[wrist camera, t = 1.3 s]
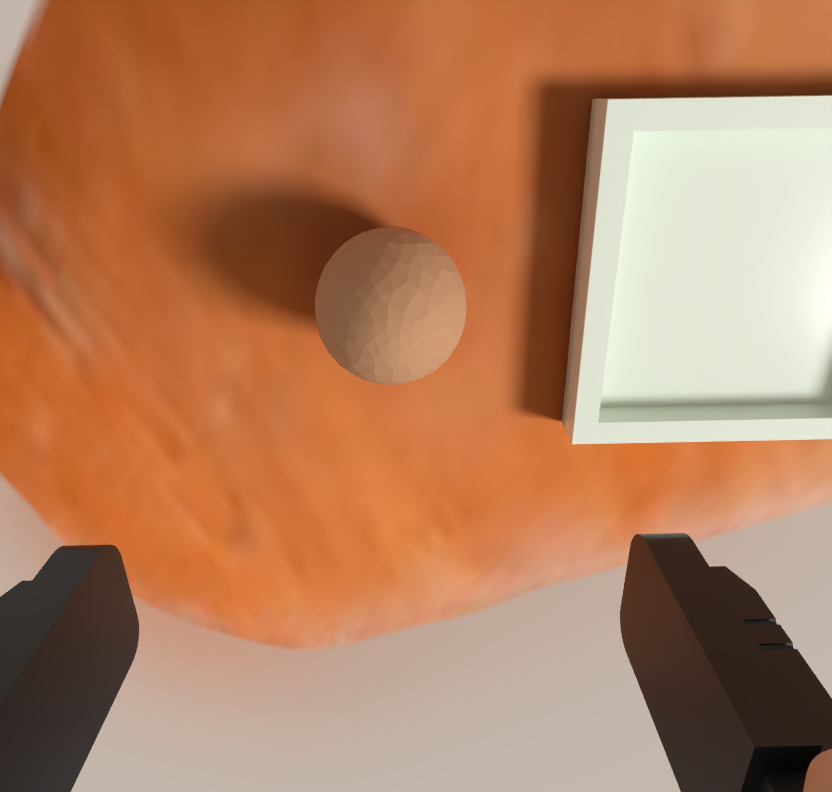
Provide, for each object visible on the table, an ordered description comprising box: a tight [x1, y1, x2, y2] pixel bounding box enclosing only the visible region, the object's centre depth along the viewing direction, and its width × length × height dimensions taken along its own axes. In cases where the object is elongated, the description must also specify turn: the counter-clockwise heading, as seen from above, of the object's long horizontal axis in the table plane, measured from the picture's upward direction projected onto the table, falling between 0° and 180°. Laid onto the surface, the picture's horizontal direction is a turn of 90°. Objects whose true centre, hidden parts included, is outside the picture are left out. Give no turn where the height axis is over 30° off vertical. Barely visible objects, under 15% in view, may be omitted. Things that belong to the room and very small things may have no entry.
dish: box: [562, 95, 832, 444], centre depth 25 cm, size 13×13×2 cm
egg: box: [315, 227, 467, 385], centre depth 23 cm, size 5×5×7 cm
